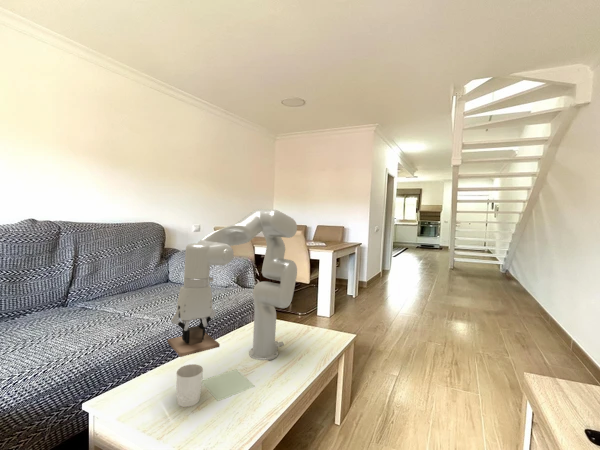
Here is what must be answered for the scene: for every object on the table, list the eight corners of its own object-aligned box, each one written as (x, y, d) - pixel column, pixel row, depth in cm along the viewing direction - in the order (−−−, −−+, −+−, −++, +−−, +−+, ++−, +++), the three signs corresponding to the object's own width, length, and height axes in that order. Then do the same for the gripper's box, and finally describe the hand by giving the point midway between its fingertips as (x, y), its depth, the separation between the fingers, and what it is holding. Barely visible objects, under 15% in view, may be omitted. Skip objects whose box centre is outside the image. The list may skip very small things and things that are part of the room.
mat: (236, 370, 111) (236, 369, 111) (255, 387, 101) (255, 386, 100) (200, 382, 102) (200, 380, 102) (217, 402, 91) (217, 401, 91)
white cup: (192, 412, 87) (194, 379, 86) (169, 407, 88) (171, 375, 88) (206, 396, 94) (207, 366, 94) (184, 392, 96) (186, 362, 96)
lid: (203, 334, 100) (204, 320, 100) (219, 346, 91) (220, 331, 91) (167, 342, 92) (168, 326, 92) (180, 357, 83) (181, 339, 83)
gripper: (216, 278, 100) (213, 330, 100) (165, 282, 89) (161, 342, 89) (226, 282, 94) (223, 338, 94) (172, 287, 83) (169, 351, 83)
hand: (193, 339), depth 91 cm, fingers closed on lid, 4 cm apart
